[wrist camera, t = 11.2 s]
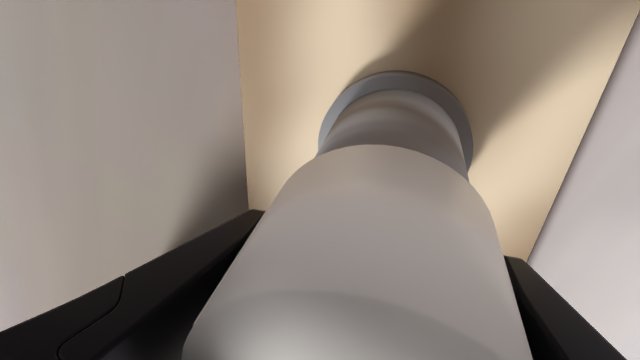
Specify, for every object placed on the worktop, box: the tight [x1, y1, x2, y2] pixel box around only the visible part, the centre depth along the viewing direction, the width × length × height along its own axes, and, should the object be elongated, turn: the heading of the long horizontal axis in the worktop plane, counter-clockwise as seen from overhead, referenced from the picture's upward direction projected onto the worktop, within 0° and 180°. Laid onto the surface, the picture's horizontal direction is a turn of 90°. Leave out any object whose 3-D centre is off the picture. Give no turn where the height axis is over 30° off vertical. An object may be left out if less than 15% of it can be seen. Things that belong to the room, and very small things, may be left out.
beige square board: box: [236, 0, 640, 262], centre depth 12 cm, size 12×14×7 cm
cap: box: [181, 144, 533, 360], centre depth 7 cm, size 5×5×4 cm
